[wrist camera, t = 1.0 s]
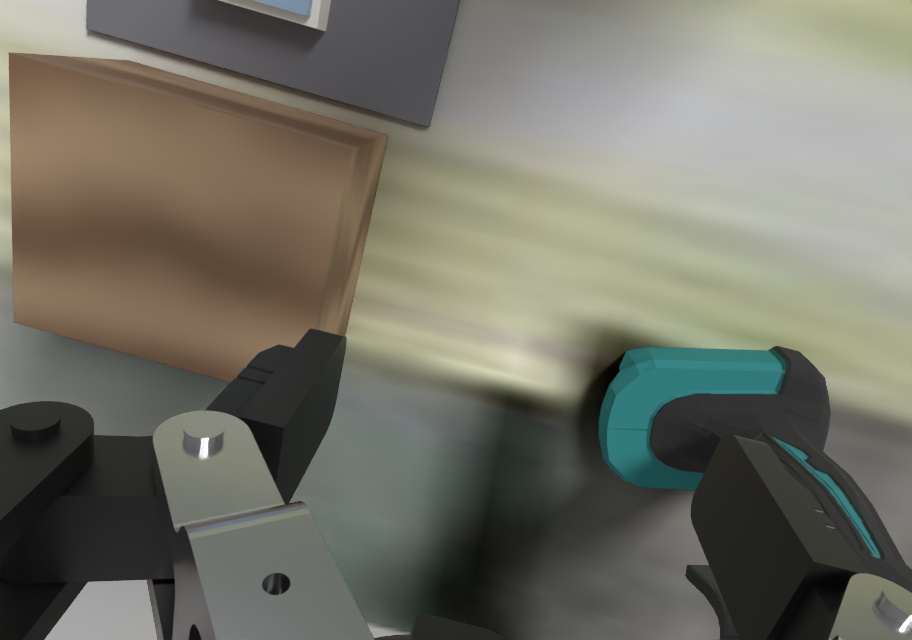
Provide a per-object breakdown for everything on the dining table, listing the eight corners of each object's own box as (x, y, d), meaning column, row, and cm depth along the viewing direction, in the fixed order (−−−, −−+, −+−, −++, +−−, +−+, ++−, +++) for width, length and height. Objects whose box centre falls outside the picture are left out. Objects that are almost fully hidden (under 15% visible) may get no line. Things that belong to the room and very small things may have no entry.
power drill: (453, 464, 38) (369, 1038, 15) (452, 335, 35) (345, 818, 12) (879, 484, 36) (1526, 1180, 13) (920, 350, 33) (1876, 963, 10)
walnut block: (128, 60, 31) (8, 52, 24) (388, 135, 31) (350, 150, 24) (117, 273, 35) (14, 322, 28) (344, 336, 36) (302, 402, 28)
